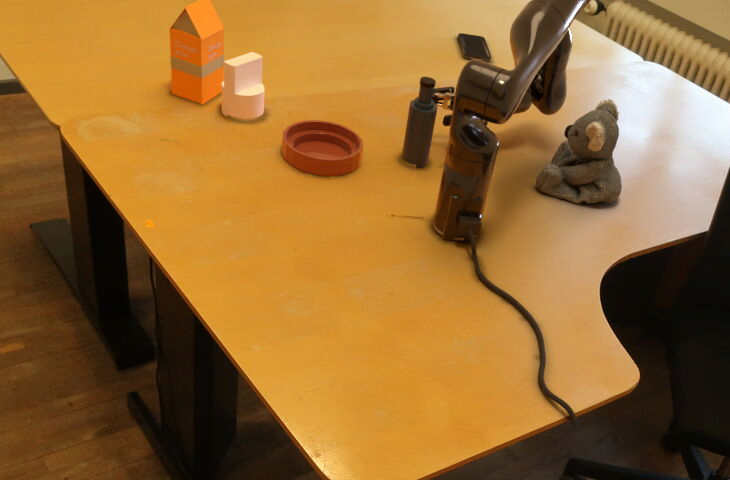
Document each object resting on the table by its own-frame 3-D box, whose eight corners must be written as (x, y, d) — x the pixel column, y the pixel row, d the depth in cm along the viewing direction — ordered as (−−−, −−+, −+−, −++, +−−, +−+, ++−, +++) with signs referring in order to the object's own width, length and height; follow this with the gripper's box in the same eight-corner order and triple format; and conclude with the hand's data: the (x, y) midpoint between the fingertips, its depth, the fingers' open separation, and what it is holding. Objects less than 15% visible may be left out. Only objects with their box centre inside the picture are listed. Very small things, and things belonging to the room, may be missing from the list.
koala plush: (553, 160, 194) (576, 80, 181) (625, 187, 191) (654, 107, 178) (530, 191, 181) (553, 108, 168) (607, 220, 178) (637, 137, 165)
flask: (428, 169, 180) (443, 88, 168) (402, 166, 179) (415, 84, 167) (426, 155, 184) (440, 75, 172) (400, 152, 183) (412, 72, 171)
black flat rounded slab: (484, 36, 240) (491, 58, 230) (483, 40, 241) (491, 62, 230) (457, 32, 239) (464, 54, 228) (456, 36, 239) (463, 58, 229)
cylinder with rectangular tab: (241, 98, 188) (242, 46, 180) (272, 113, 185) (274, 61, 177) (212, 109, 182) (212, 56, 174) (244, 125, 179) (245, 72, 171)
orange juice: (171, 93, 184) (167, 1, 170) (194, 80, 190) (192, -10, 177) (202, 104, 182) (201, 13, 169) (224, 91, 189) (224, 1, 176)
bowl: (362, 183, 171) (364, 163, 168) (280, 175, 167) (281, 155, 164) (358, 143, 183) (361, 124, 180) (282, 135, 179) (283, 116, 176)
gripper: (474, 71, 186) (415, 80, 177) (514, 100, 179) (455, 110, 170) (467, 103, 191) (410, 112, 182) (506, 132, 184) (449, 144, 175)
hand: (432, 111), depth 176 cm, fingers open, 8 cm apart
